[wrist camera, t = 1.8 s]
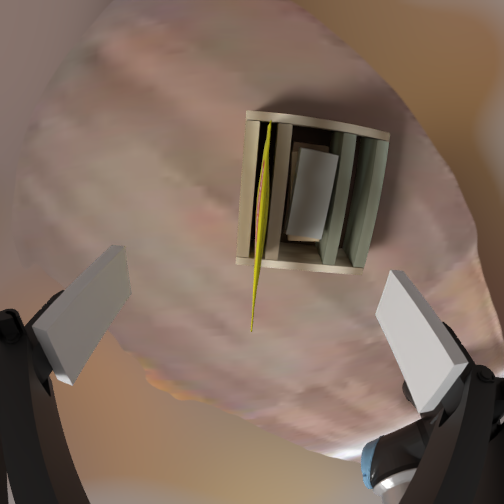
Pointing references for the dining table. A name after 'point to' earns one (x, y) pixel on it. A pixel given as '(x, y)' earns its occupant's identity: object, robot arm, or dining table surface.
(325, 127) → the rack
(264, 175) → the food package
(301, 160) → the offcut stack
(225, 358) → the dining table surface
